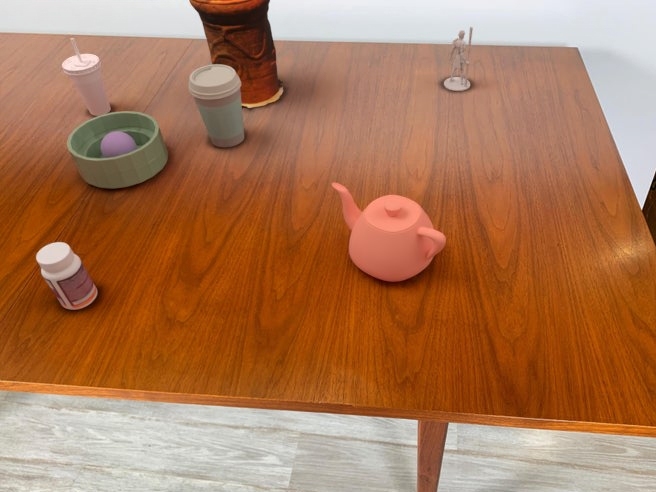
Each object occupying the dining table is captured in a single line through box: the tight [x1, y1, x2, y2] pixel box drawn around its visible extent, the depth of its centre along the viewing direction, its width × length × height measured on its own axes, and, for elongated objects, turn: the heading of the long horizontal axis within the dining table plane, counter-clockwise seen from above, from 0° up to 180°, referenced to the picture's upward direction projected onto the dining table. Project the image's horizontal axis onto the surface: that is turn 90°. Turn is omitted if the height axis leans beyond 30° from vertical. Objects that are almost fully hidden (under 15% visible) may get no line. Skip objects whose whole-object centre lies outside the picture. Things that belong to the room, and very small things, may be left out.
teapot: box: [331, 182, 447, 283], centre depth 80 cm, size 12×18×10 cm
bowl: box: [66, 110, 169, 189], centre depth 96 cm, size 14×14×6 cm
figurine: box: [443, 26, 474, 92], centre depth 111 cm, size 5×5×12 cm
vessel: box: [188, 0, 284, 109], centre depth 107 cm, size 14×14×20 cm
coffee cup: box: [188, 64, 245, 148], centre depth 99 cm, size 9×8×12 cm
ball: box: [101, 131, 137, 158], centre depth 96 cm, size 6×6×6 cm
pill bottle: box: [35, 241, 98, 311], centre depth 75 cm, size 5×5×8 cm
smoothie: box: [61, 37, 112, 117], centre depth 105 cm, size 6×6×14 cm
